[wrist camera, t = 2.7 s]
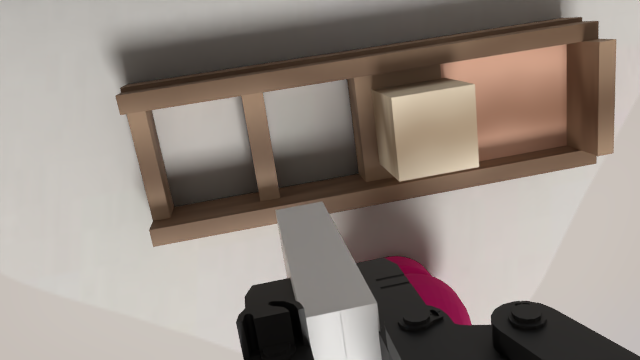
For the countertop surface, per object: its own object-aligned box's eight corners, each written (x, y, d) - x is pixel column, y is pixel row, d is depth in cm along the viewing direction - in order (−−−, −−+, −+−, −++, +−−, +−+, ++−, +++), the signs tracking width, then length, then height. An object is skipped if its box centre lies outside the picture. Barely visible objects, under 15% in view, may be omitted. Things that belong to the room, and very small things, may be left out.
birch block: (371, 89, 31) (391, 97, 27) (445, 77, 31) (474, 84, 27) (379, 163, 32) (399, 181, 28) (450, 151, 32) (479, 166, 29)
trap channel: (127, 84, 30) (107, 94, 26) (562, 18, 33) (616, 15, 29) (162, 228, 33) (150, 261, 28) (562, 154, 36) (612, 173, 31)
